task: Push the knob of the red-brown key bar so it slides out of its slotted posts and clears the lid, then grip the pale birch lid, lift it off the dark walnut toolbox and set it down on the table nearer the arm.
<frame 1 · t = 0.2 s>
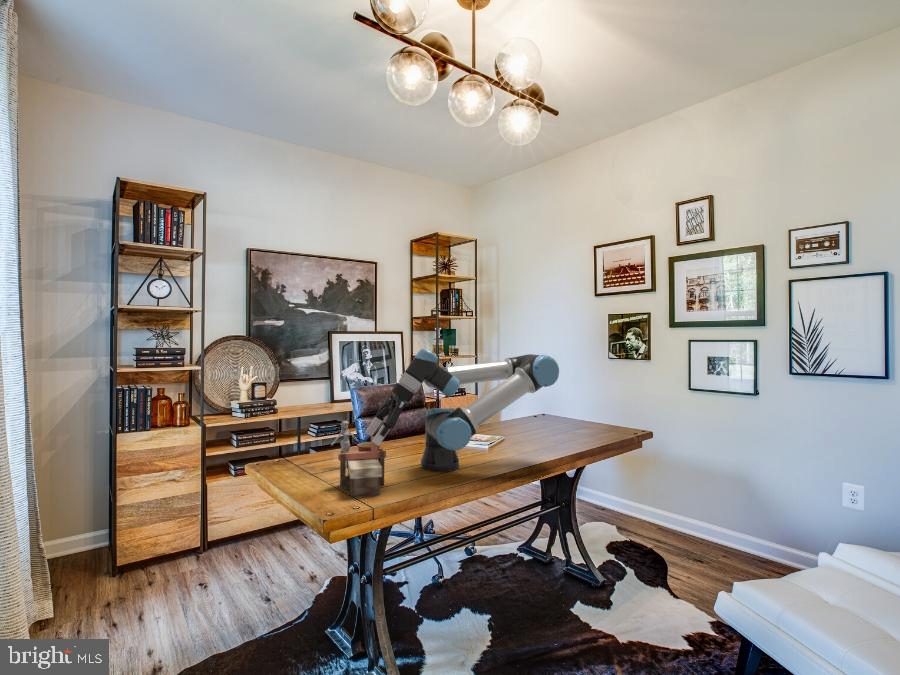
hand: (371, 438, 163), 15 cm above the table, tool tilted 35°, fingers open, 13 cm apart
lid: (363, 471, 156), point 6 cm above the table, touching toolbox
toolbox: (363, 489, 156), on the table
human figurine: (344, 467, 182), on the table
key: (362, 447, 160), point 13 cm above the table, slide at 0.0 cm
mug: (371, 473, 175), on the table
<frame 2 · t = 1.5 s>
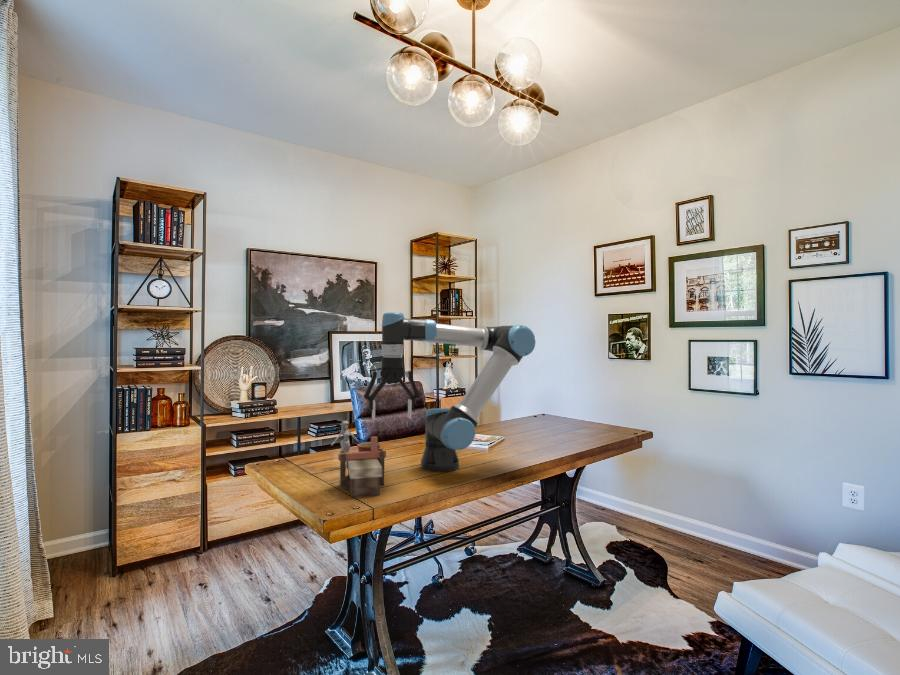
hand: (391, 418, 163), 22 cm above the table, tool pointing down, fingers open, 12 cm apart
nothing on the table moved.
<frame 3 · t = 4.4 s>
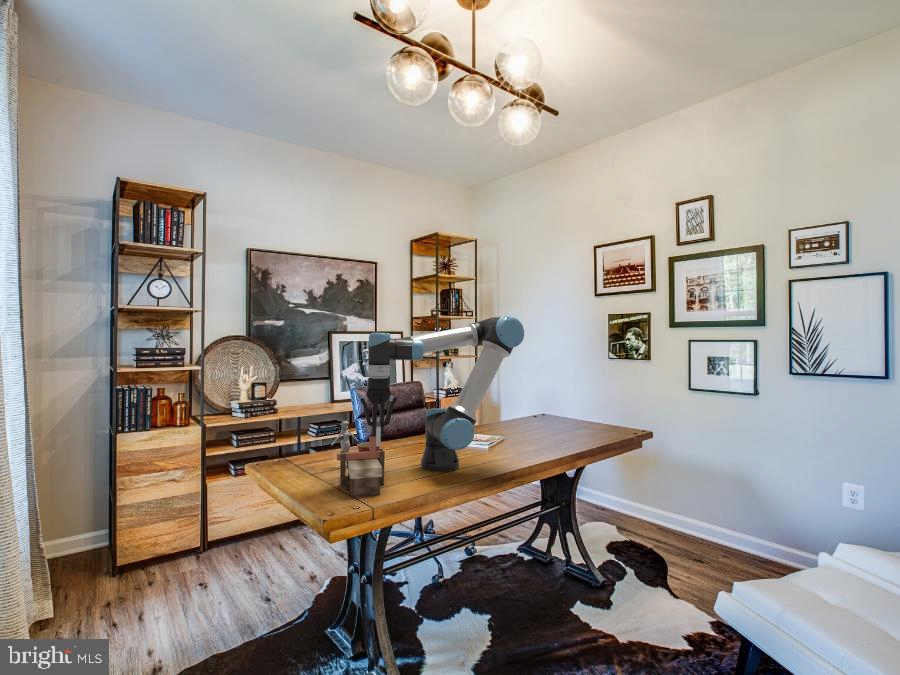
hand: (377, 445, 161), 13 cm above the table, tool pointing down, fingers closed
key: (360, 448, 160), point 13 cm above the table, slide at 0.5 cm, touching gripper
everything else where it was.
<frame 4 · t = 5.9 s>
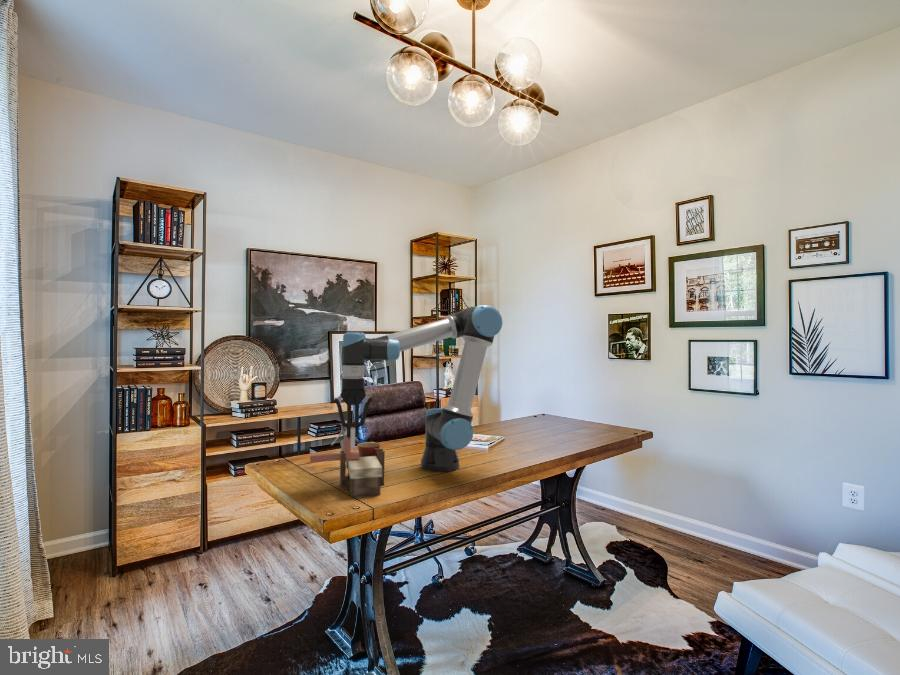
hand: (352, 446, 159), 13 cm above the table, tool pointing down, fingers closed
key: (335, 449, 157), point 13 cm above the table, slide at 9.1 cm, touching gripper
everything else where it was.
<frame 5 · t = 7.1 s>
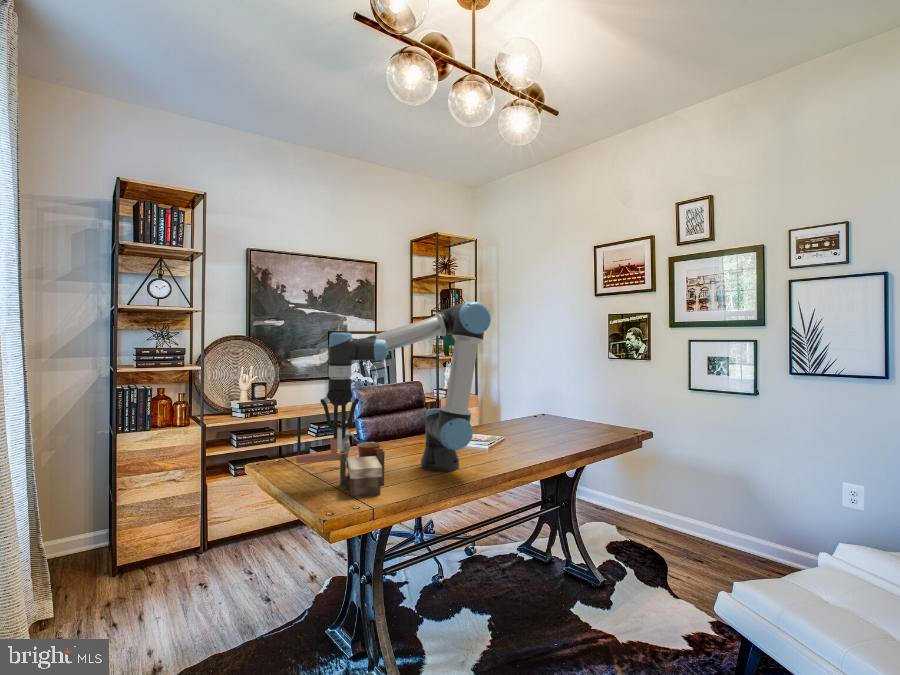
hand: (339, 447, 158), 13 cm above the table, tool pointing down, fingers closed
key: (321, 450, 156), point 13 cm above the table, slide at 13.5 cm, touching gripper
everything else where it was.
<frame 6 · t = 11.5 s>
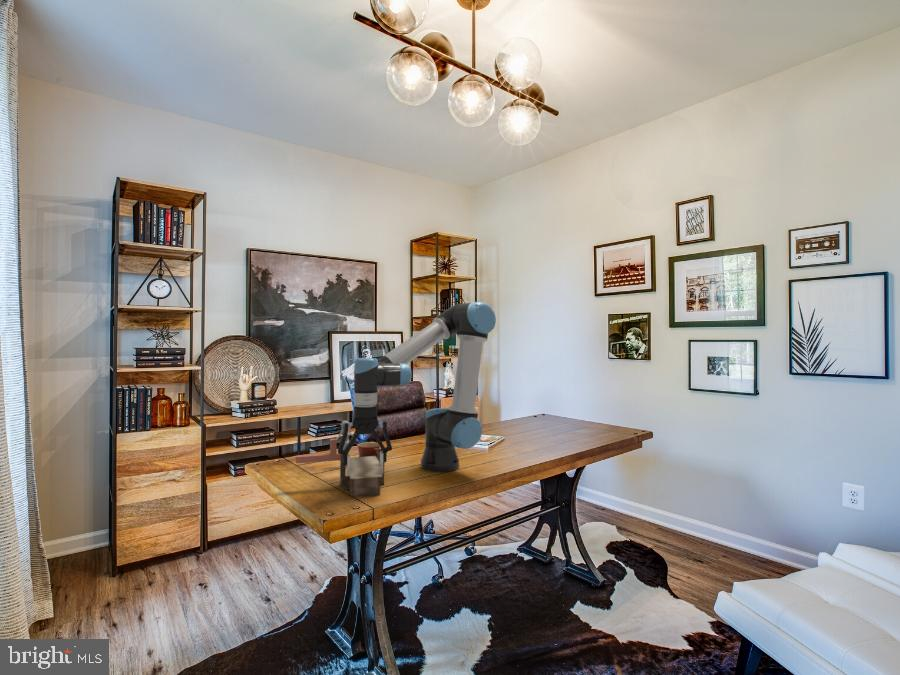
hand: (364, 473, 152), 6 cm above the table, tool pointing down, fingers closed on lid, 10 cm apart
lid: (363, 471, 156), point 6 cm above the table, touching gripper, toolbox
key: (321, 450, 156), point 13 cm above the table, slide at 13.7 cm
everything else where it was.
when the fingers open (2 cm above the table, at t = 18.1 s): lid drops 3 cm, on the table.
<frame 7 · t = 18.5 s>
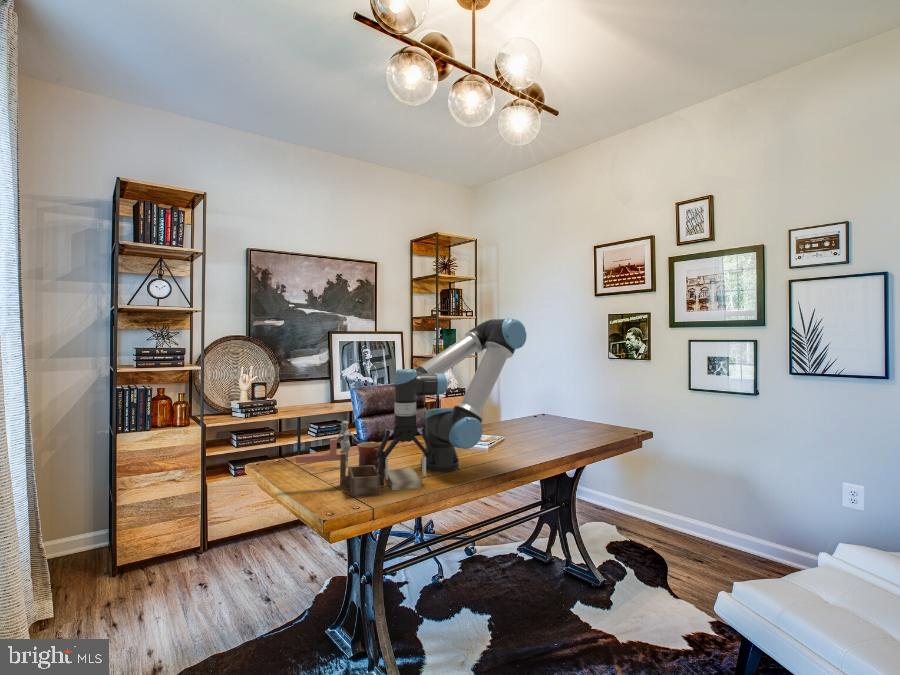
hand: (405, 476, 161), 3 cm above the table, tool pointing down, fingers open, 13 cm apart
lid: (402, 483, 164), on the table
everything else where it was.
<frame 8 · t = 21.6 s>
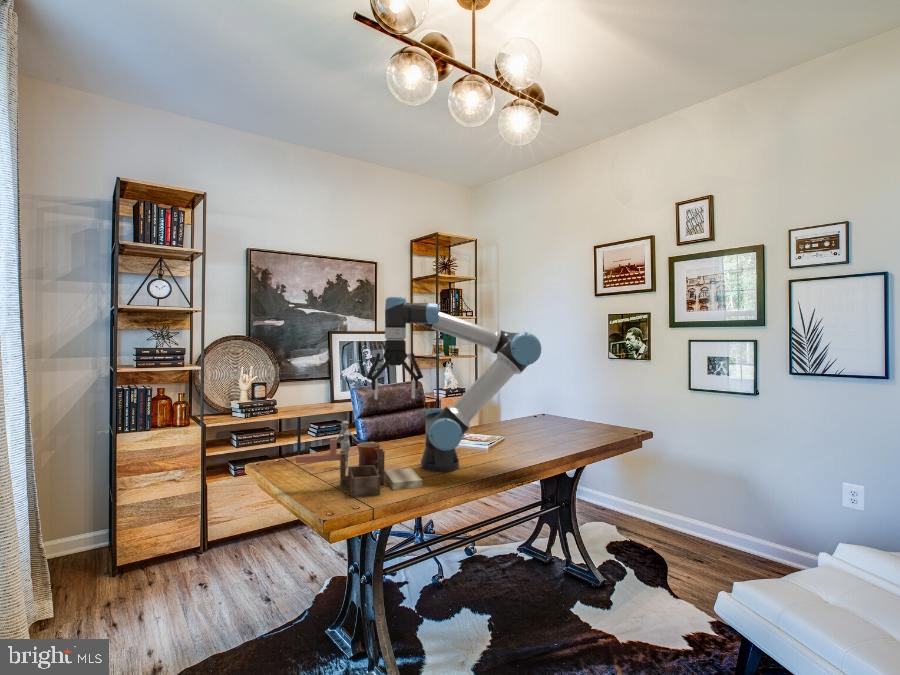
hand: (394, 398, 169), 29 cm above the table, tool pointing down, fingers open, 13 cm apart
nothing on the table moved.
at the end: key slide at 13.7 cm; lid inside the target area (2.9 cm from its centre), on the table; lid touching table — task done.
